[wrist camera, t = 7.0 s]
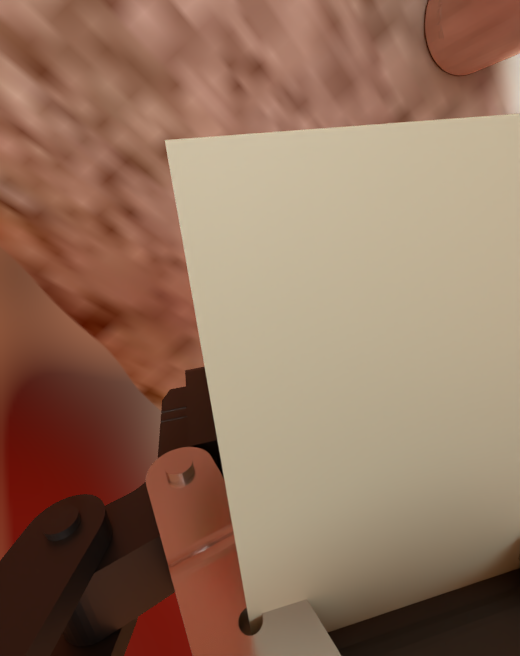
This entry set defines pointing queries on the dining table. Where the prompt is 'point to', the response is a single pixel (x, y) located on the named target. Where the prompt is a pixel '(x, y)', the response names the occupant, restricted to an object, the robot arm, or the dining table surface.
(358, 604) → the door panel
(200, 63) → the dining table surface
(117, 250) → the dining table surface
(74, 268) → the dining table surface
